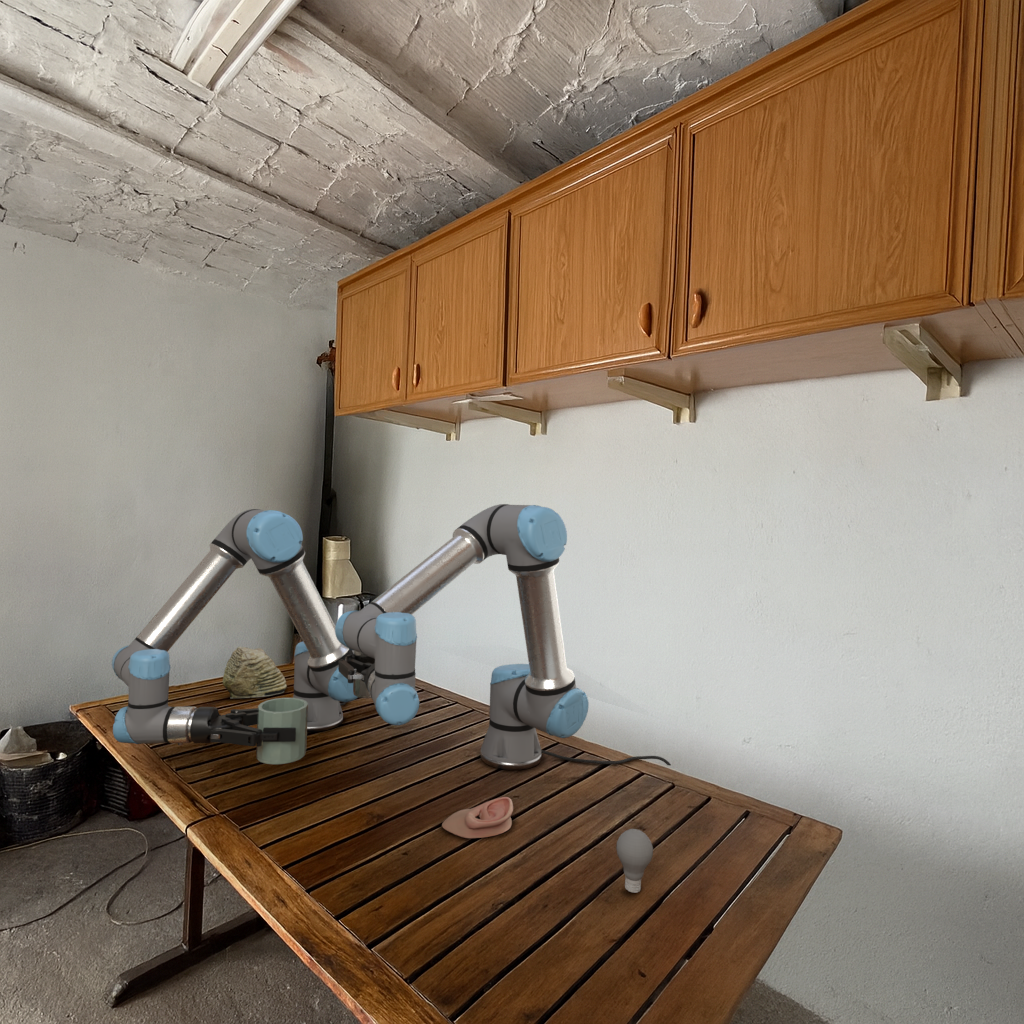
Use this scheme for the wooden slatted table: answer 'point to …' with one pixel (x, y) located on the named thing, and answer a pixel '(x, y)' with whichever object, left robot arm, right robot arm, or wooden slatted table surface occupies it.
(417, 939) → the wooden slatted table surface
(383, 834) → the wooden slatted table surface
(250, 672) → the fossil
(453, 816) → the anatomical model
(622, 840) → the light bulb
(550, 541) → the right robot arm
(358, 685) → the tumbler
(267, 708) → the pot
